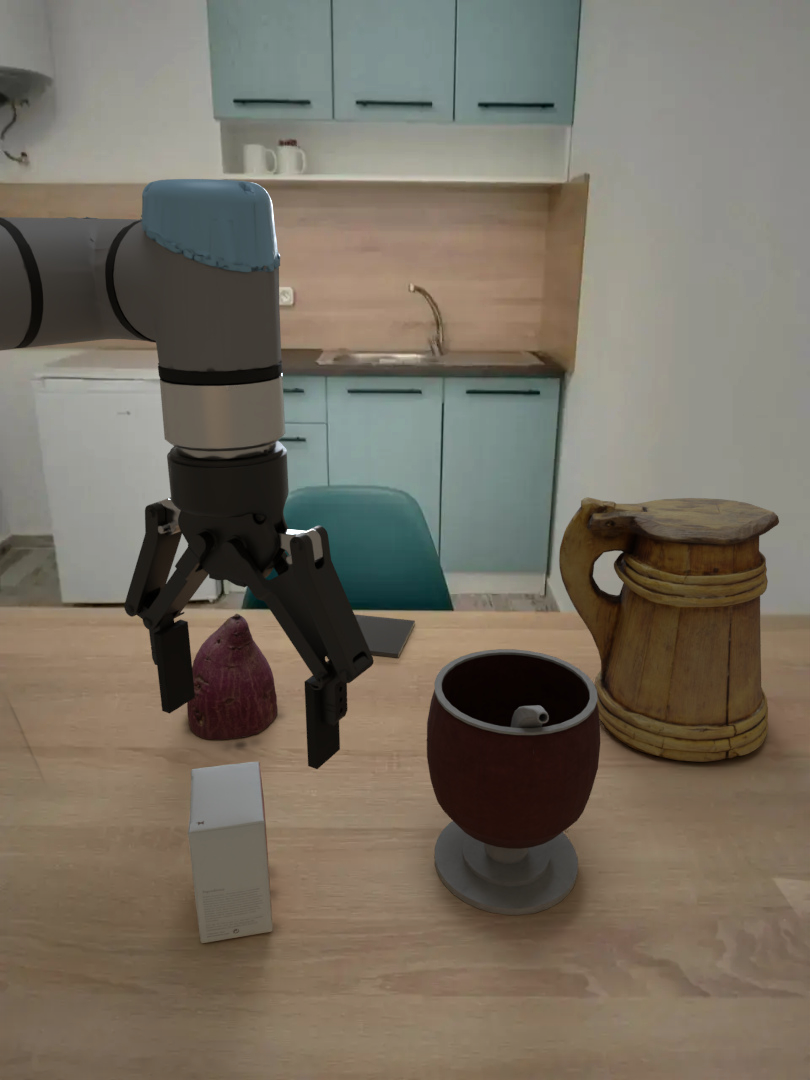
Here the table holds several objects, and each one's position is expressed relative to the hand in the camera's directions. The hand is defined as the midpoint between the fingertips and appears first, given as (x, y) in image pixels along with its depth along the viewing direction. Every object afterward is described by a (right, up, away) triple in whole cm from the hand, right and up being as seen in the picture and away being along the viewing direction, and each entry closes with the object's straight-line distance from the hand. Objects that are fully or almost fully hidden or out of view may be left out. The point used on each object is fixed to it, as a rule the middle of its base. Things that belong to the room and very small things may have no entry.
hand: (247, 729), depth 60 cm
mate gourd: (+20, -14, +11) cm, 27 cm away
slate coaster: (+7, +1, +51) cm, 52 cm away
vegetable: (-8, -6, +33) cm, 35 cm away
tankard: (+40, -6, +33) cm, 52 cm away
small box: (-2, -16, +7) cm, 17 cm away
